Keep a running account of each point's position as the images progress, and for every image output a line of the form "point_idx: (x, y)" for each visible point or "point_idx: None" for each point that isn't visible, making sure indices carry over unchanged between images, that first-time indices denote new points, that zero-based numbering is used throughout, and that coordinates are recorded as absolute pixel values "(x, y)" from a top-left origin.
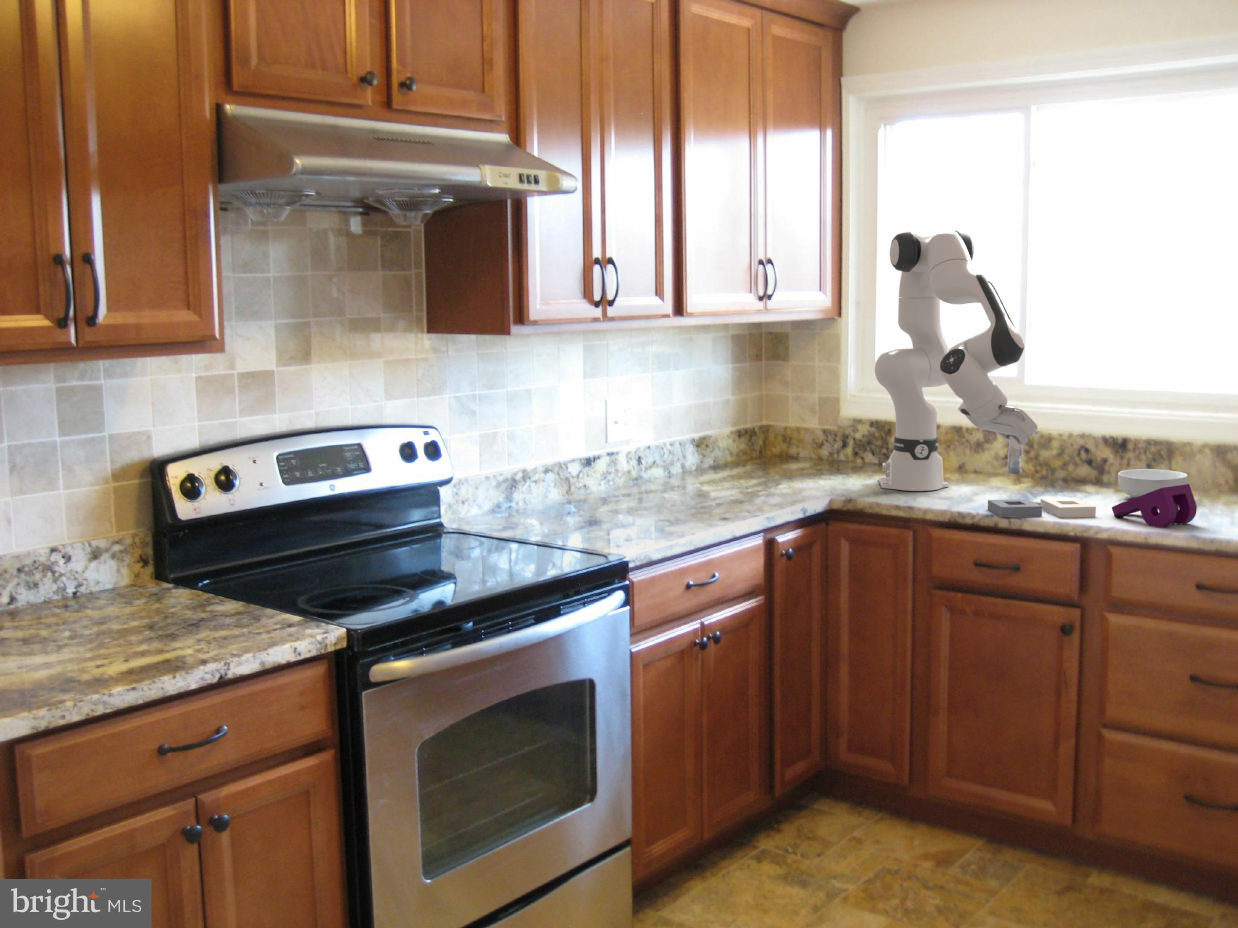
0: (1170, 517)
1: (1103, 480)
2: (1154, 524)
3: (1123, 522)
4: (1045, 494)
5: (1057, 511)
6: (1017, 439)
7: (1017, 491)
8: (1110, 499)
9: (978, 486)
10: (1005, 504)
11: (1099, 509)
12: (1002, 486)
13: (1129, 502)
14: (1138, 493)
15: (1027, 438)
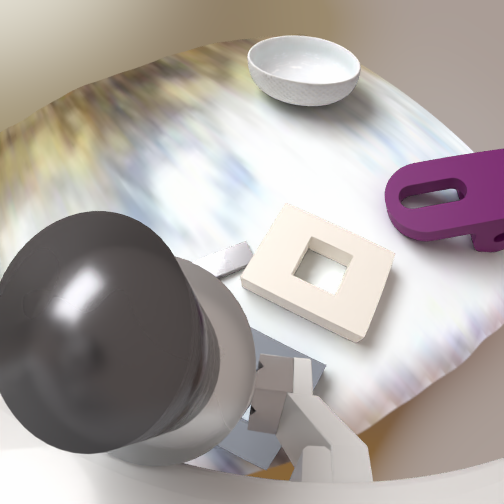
0: None
1: (161, 60)
2: (487, 249)
3: (448, 265)
4: (149, 162)
5: (349, 335)
6: (252, 427)
7: (96, 180)
8: (261, 119)
9: (30, 202)
10: (240, 429)
11: (326, 195)
12: (60, 171)
13: (462, 228)
14: (319, 104)
15: (310, 365)
